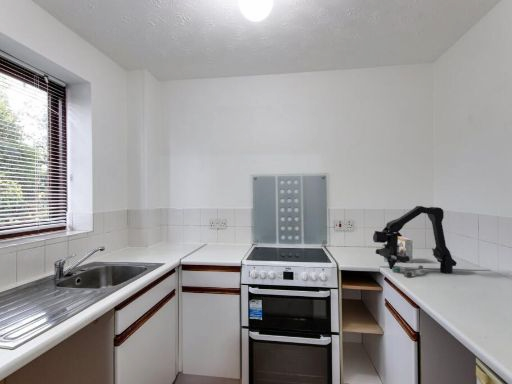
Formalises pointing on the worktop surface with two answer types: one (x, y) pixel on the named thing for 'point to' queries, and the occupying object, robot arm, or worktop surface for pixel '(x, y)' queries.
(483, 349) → the worktop surface
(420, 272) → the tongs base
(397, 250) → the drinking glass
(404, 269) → the hinged jaw
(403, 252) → the candy bar box
